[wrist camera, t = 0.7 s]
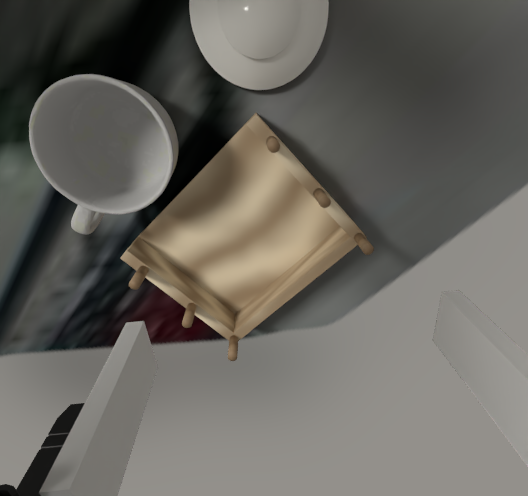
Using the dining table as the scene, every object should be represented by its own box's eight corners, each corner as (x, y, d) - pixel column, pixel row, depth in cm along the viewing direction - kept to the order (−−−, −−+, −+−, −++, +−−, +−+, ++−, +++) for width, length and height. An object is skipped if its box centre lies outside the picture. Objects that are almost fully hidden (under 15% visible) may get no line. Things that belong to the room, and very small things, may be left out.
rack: (135, 239, 37) (108, 272, 30) (255, 112, 32) (257, 116, 25) (235, 319, 42) (232, 363, 35) (353, 221, 37) (377, 249, 30)
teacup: (111, 52, 29) (66, 37, 22) (209, 131, 33) (197, 141, 25) (46, 172, 34) (-10, 192, 26) (138, 232, 37) (111, 265, 30)
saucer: (163, 12, 29) (158, 7, 27) (260, -115, 25) (261, -129, 24) (258, 117, 33) (258, 118, 31) (352, 18, 29) (358, 14, 28)
